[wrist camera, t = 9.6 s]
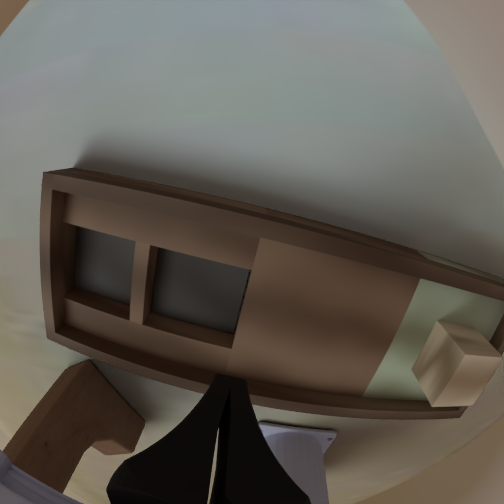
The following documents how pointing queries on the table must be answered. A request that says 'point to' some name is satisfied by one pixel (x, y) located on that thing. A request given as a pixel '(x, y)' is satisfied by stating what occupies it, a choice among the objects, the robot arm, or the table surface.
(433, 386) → the maple block
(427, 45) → the table surface
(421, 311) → the track
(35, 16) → the table surface
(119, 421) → the wooden block
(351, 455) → the table surface
